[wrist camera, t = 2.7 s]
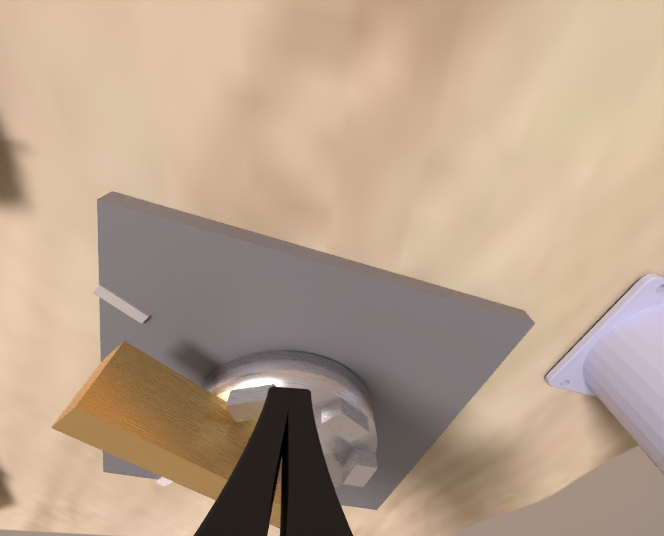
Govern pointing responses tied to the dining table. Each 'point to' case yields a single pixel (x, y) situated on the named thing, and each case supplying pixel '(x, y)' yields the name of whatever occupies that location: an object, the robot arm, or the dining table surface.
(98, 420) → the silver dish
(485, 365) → the nut board
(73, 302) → the dining table surface
